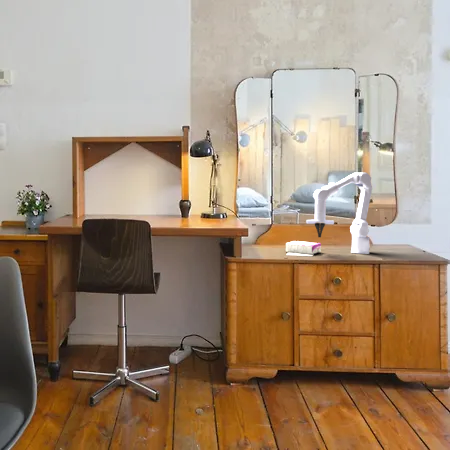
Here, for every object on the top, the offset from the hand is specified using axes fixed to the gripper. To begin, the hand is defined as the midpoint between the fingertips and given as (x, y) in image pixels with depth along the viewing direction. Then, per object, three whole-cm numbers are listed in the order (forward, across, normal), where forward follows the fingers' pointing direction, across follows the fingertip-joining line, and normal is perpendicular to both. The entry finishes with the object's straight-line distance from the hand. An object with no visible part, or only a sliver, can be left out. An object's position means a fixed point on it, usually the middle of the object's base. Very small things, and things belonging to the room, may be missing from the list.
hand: (319, 237), depth 241 cm
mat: (+9, +10, 0) cm, 14 cm away
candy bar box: (+7, +1, -1) cm, 7 cm away
